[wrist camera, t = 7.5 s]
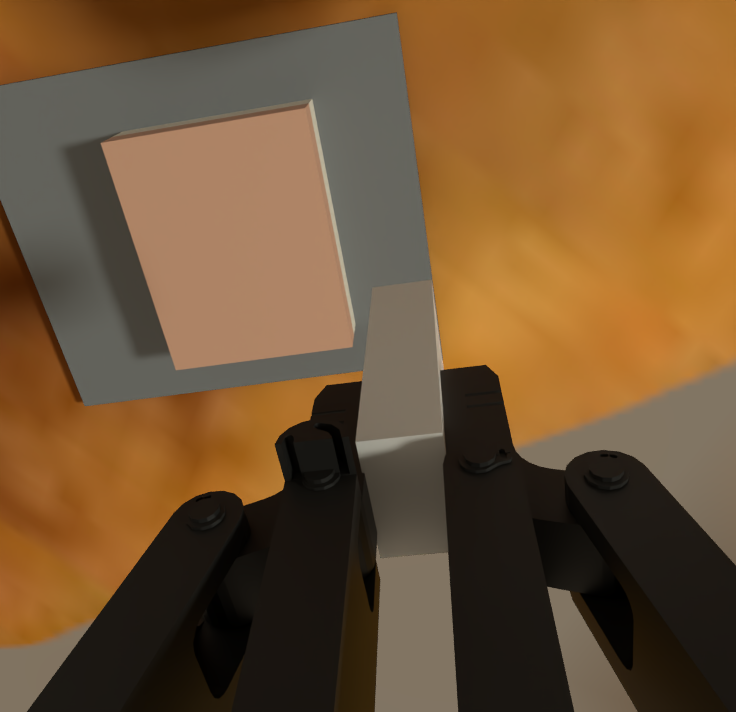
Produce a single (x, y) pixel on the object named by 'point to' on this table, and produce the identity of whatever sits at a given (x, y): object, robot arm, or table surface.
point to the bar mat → (186, 102)
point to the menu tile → (236, 234)
